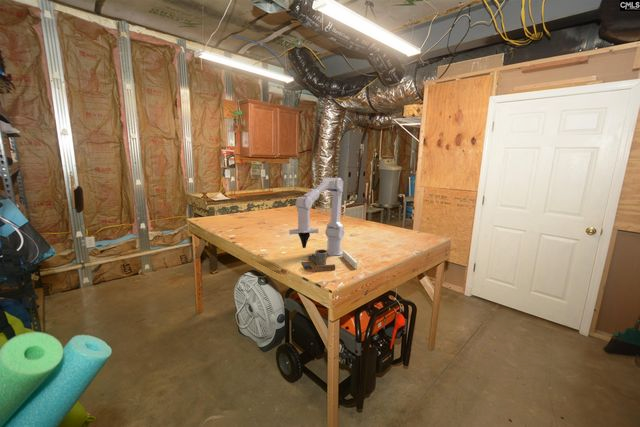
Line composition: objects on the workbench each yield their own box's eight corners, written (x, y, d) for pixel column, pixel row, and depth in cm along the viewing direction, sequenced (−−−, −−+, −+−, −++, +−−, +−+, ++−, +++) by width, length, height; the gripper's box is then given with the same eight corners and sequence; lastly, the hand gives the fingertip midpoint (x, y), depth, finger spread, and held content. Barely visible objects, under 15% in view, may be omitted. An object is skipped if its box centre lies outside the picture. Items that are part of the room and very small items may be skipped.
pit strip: (301, 262, 149) (301, 262, 148) (308, 262, 149) (308, 261, 149) (305, 269, 139) (305, 269, 139) (312, 269, 140) (312, 268, 140)
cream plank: (342, 256, 159) (342, 250, 158) (344, 256, 159) (344, 250, 159) (355, 269, 140) (355, 262, 139) (357, 269, 140) (357, 262, 140)
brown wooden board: (308, 259, 153) (308, 255, 152) (326, 258, 155) (326, 254, 155) (315, 271, 137) (315, 266, 136) (335, 269, 139) (335, 265, 139)
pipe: (317, 259, 153) (317, 245, 152) (330, 267, 142) (330, 252, 141) (307, 262, 150) (307, 247, 148) (320, 269, 139) (320, 254, 138)
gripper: (290, 223, 134) (290, 250, 137) (319, 222, 137) (319, 248, 140) (288, 220, 141) (288, 246, 143) (316, 219, 144) (316, 244, 147)
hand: (303, 247), depth 142 cm, fingers closed
